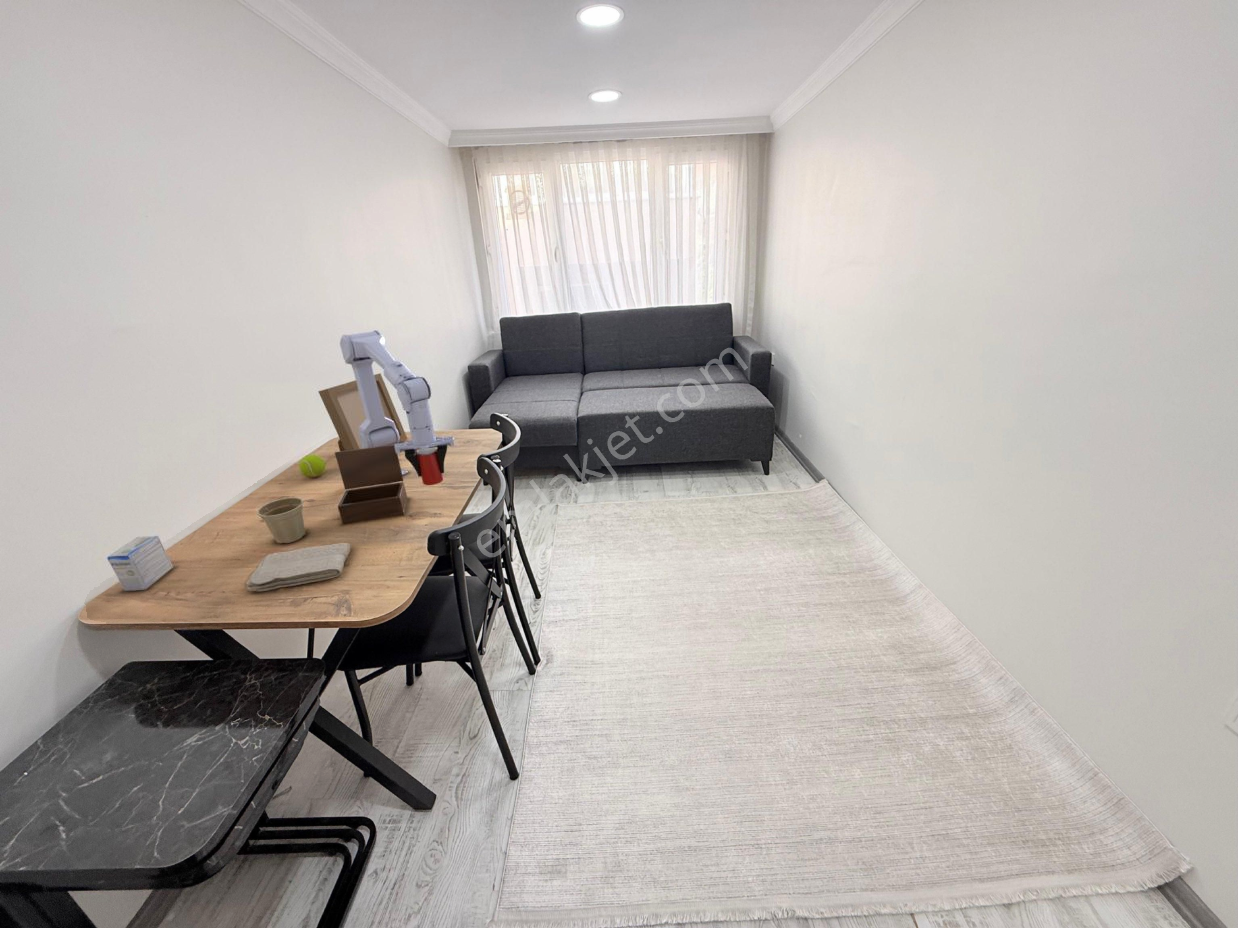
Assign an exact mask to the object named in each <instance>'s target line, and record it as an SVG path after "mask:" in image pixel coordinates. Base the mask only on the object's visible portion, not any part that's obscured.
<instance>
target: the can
mask: <svg viewBox="0 0 1238 928" xmlns="http://www.w3.org/2000/svg"><path fill="white" fill-rule="evenodd" d="M417 458H418V463H419V468H420V472H421V477H420V478H421V480H422V484H423V485H425V486H434V485H437V484H440V483H442V482H443V481H444V477H443V473H442V474H441V470H440V462H439V458H438V454H437V448H436V447H435V448H427V449H420V450H417Z"/></svg>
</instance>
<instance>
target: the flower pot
mask: <svg viewBox="0 0 1238 928" xmlns="http://www.w3.org/2000/svg"><path fill="white" fill-rule="evenodd" d="M303 507H304V499H302V498H301V497H295V496H292V497H283V498H279V499H276V500H273V501H272V500H271V501H270V502H267V503H265V504H263V505H262V506H260V507H259V508H258V509H257V510H256V515H257V516H258V517H260V518H261V520H262V521H263V522H264V523H265V524H266V527H267V528H268V529H269V532H270V534H271V535H272V536H273V538H274V540H275V542H276V543H277V544H284V543H285V544H290V543H293V542H296V541H299V540H300V539H302V538H303V536H305V535H306V528H305V522H304V514H303Z"/></svg>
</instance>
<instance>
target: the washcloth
mask: <svg viewBox="0 0 1238 928" xmlns="http://www.w3.org/2000/svg"><path fill="white" fill-rule="evenodd" d="M351 546H352V545H351V544H350V543H348V542H340V543H332V544H328V545H318V546H312V547H311V546H310V547H307V548H305V547H303V548H299V549H295V550H286V551H282V552H281V551H280V552H275V553H274V552H273V553H270V554H267V555H266V556H265V557H263V558H261V559H260V563H259V565H258V566H257V568H256V569H255V570H254V571H253V573H252V574H251V575H250V577H249V579H248V580H247V582H246V583H245V586H247V587H246V589H247V591H254V592H266V591H271V590H275V589H279V588H287V587H293V586H300V585H303V584H308V583H314V582H315V583H316V582H319V581H326V580H331V579H334V578H336V577H339V576H340V575H341V574H342V572H343V571H344V568H345V567H344V565H345V562H346V560H347V559H348V557H349V554H350V551H351V549H352V548H351Z"/></svg>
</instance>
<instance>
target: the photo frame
mask: <svg viewBox="0 0 1238 928" xmlns="http://www.w3.org/2000/svg"><path fill="white" fill-rule="evenodd" d="M374 377H375V381H376V385H377V389H378V393H379V397H380V401H381V405H382V409H383V413H384V417H386V418H389V419H391V420H392V421H393V422H394V423H395V426H396V429H397V430H398V433H399V436H400V440H399V443H398V444H400V443H403V441H406V440H408V436H407V434H406V432H405V429H404V427H403V424H402V422H401V420H400V417H399V414H398V412H397V410H396V408H395V405H394V403H393V400H392V398H391V395H390V393H389V390H388V388H387V385H386V383H385V380H384V379H383V376H382V374H381V373H375V374H374ZM318 394H319V396H320V398H321V401H322V403H323V405H324V407H325V410H326V412H327V414H328V417H329V419H330V420H331V423H332V425H333V427H334V429H335V431H336V434H337V436H338V438H339V439H338V441H337V446H338V450H339V452H340V451H348V450H355V449H363V448H362V446H361V444H360V440H359V431H358V430H359V429H358V427H359V426H360V425H361V424H362V423H363V422H364V421H365V420H366V416H365V413H364V409H363V405H362V401H361V398H360V394H359V390H358V386H357V382H356V379H355V380H352V381H348V382H345V383H341V384H338V385H336V386H332V387H331V386H330V387H327V388H324V389H322V390H319V391H318Z"/></svg>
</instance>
